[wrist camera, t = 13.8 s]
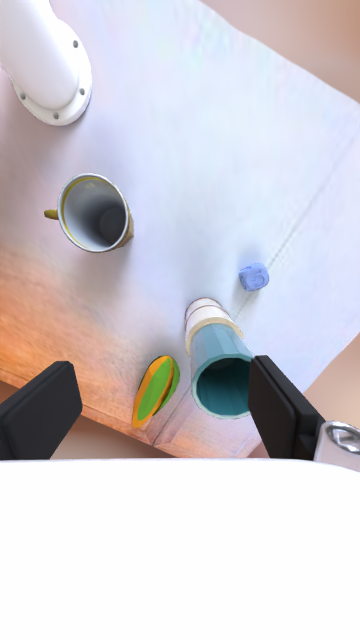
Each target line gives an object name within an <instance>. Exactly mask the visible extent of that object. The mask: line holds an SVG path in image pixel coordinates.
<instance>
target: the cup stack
mask: <svg viewBox="0 0 360 640" xmlns="http://www.w3.org/2000/svg"><path fill="white" fill-rule="evenodd" d="M185 321H186V324H185V333H186V351H187V354H188V356H189V358H190V342H191V339H192V337H193V335H194V334H195V332H196V331H197V330H198V329H200V328H201V327H203V326H205V325H207V324H210V323H223V324H226V325H228V326H230V327H232V328H233V329H234V330H235V331H236V332H237V333H238V334H239V335H240V336H241V338H242V339H243V340H244V338H243V334H242V332H241V330H240V329H239V327H238V326H237V325H236V324H235V322H234V321H233V320H232V319H231V317H230V316H229V314H228V313H227V312H226V311H225V310H224V309H223V308H222V306H221V305H220V304H219V303H218V302H217V301H215V300H213V299H211V298H200V299H197V300H195V301H193V302H192V303H191V304H190V305H189V307H188V308H187V310H186V314H185Z"/></svg>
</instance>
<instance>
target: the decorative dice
mask: <svg viewBox="0 0 360 640" xmlns="http://www.w3.org/2000/svg"><path fill="white" fill-rule="evenodd" d="M239 277H240V281H241V283H242V285H243V287H244V289H245V290H246V291H248V292H250V291H255V290H258V289H260V288H262V287H264V286H266V285H267V284H268V282H269V275H268V272H267V270H266V268H265V266H264V265H263V264H261V263H257V264H254V265H251V266H249V267H247V268H245V269H243V270H241V271H240V273H239Z"/></svg>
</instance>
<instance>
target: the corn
mask: <svg viewBox="0 0 360 640" xmlns="http://www.w3.org/2000/svg"><path fill="white" fill-rule="evenodd" d="M172 358H173V357H169V356H168V355H165V356H160V357H158V358H157V359H155V360H154V361H153V362H152V363H151V364H150V365H149V367H148V369H147V371H146V373H145V375H144V376H143V378H142V381H141V384H140V386H139V389H138V394H137V396H136V398H135V401H134V406H133V414H132V425H133V427H134V428H139V427H141V426H142V425H143V424H144V423H145V422H146V421H147V420H148V419H149V418H150V417H151V416H154V415H155V414H156V413H157V412H158V411H159V410H160V409H161V408H162V407H163V406H164V405H165V404H166V403H167V402H168V401H169V399H170V397H171V396H172V394H173V393H174V391H175V390H176V387H177V385H178V382H179V377H180V372H179V367H178V365H177V363H176V362H175V360H174V359H172Z"/></svg>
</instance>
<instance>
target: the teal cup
mask: <svg viewBox="0 0 360 640" xmlns="http://www.w3.org/2000/svg"><path fill="white" fill-rule="evenodd" d="M254 357H255V355H254V353H253V352H252V351H251V349H250V348H249V347H248V346H247V344H246V343H245V342H244V340H243V339H242V338H241V336H240V335H239V334H238V333H237V332H236V331H235V330H234V329H233V328H232V327H230V326H228V325H226V324H223V323H210V324H207V325H205V326H203V327H201V328H200V329H198V330H197V331H196V332H195V334H194V335H193V337H192V339H191V342H190V366H191V388H192V396H193V398H194V400H195V402H196V404H197V406H198V407H199V408H200V409H202V410H203V411H204V412H205V413H206V414H208V415H210V416H213V417H216V418H219V419H238V418H241V417H244V416H247V415H250V414H251V413H250V411H249V408H248V391H249V377H250V363H251V359H254Z"/></svg>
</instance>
